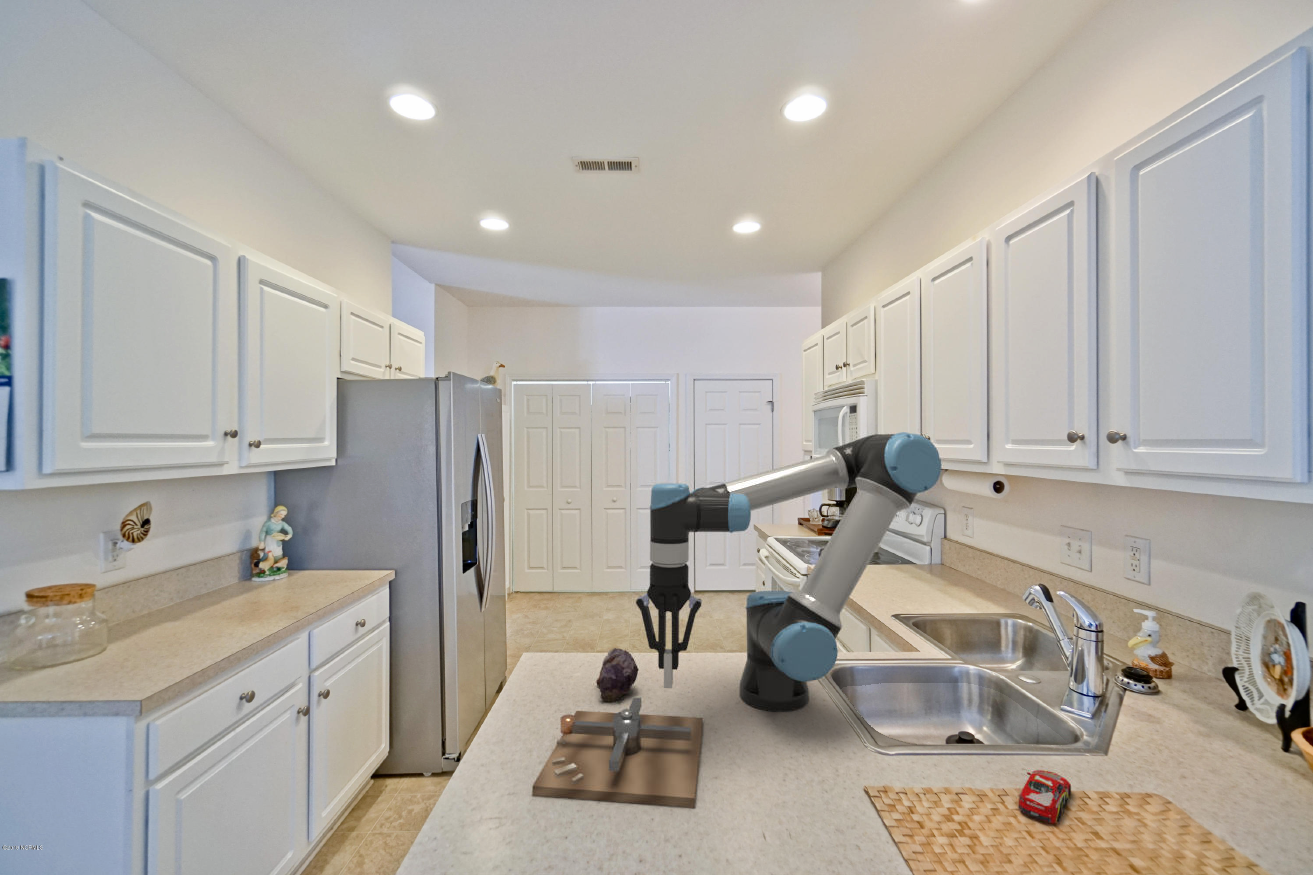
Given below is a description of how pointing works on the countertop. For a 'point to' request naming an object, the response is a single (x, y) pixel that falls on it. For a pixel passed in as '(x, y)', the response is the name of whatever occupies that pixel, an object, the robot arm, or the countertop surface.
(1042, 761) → the countertop surface
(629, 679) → the rock
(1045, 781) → the race car
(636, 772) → the board
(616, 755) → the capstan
